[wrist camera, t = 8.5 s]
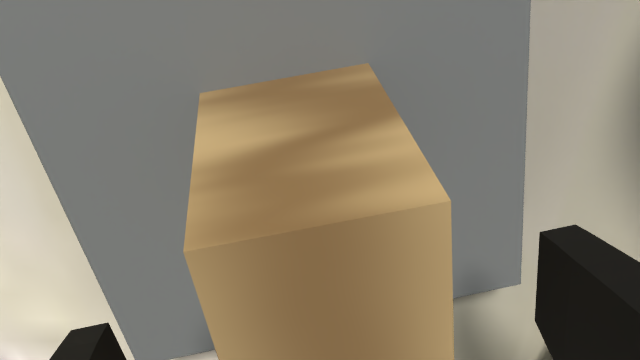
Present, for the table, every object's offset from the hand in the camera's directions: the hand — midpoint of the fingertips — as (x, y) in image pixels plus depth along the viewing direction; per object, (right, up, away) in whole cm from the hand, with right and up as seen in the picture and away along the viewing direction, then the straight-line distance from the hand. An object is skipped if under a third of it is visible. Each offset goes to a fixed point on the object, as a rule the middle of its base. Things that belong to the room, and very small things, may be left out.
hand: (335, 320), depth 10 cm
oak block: (-1, +3, +5) cm, 6 cm away
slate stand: (-1, +4, +7) cm, 8 cm away
